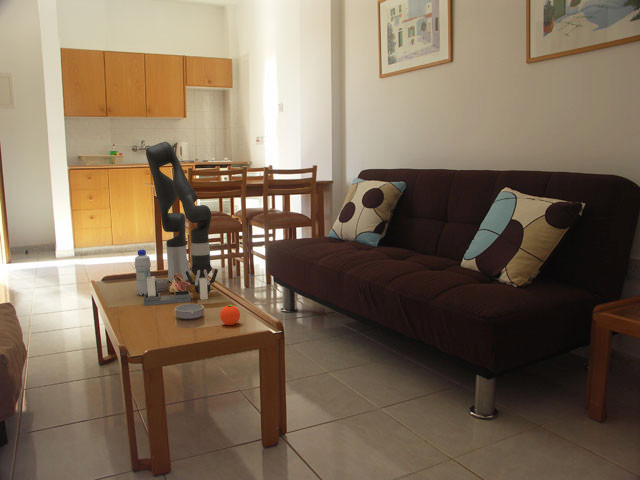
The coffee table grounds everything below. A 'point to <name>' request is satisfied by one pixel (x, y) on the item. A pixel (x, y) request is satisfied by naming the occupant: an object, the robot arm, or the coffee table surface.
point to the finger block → (202, 288)
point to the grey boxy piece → (155, 297)
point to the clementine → (230, 315)
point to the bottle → (142, 271)
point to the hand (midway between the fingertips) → (202, 293)
